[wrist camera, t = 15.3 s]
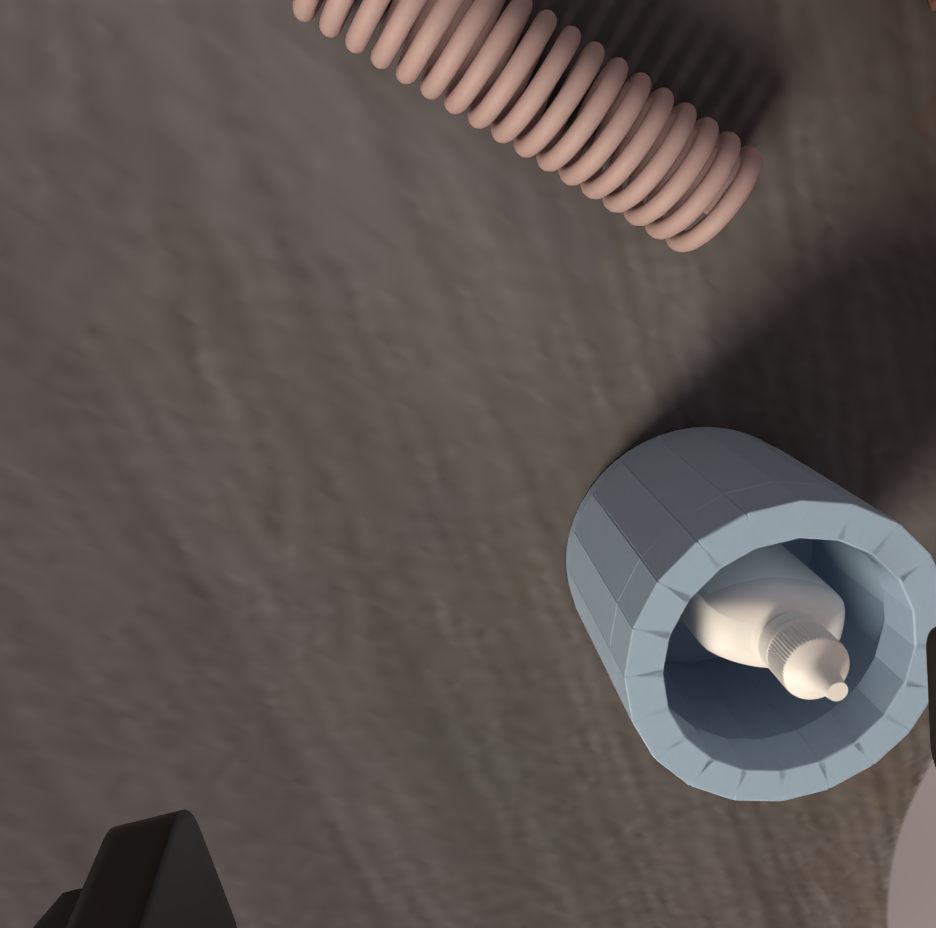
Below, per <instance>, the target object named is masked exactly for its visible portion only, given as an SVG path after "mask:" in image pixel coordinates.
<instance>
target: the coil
mask: <svg viewBox="0 0 936 928" xmlns="http://www.w3.org/2000/svg"><path fill="white" fill-rule="evenodd" d="M505 1H506V0H393V1H392V3H391V6H390V8H389V11H388V13H387V16H386V18H385V21H384V23H383V26H382V28H381V30H380V33H379V35H378V38H377V40H376V42H375V45H374V47H373V49H372V52H371V61H372V63H373V65H374V66H376V67H377V68H379V69H385V68H387V67H388V66H390V64H391V62H392V61H393V59H394V57H395V56H396V54H397V52H398V51H399V49H400V47H401V45H402V44H403V42H404V40H405V38H406V37H407V35H408V33H409V31H410V30H411V31H410V33H409V36H408V38H407V41H406V43H405V46H404V48H403V51H402V53H401V56H400V58H399V61H398V63H397V66H396V76H397V78H398V80H399V81H400V82H401V83H403V84H410V83H412V82H414V81H415V80H416V79H417V77H418V76H419V74H420V73H421V71H422V70H423V68H424V66H425V65H426V63H427V65H426V68H425V70H424V73H423V76H422V79H421V83H420V90H421V92H422V95H423V96H424V97H426V98H427V99H435V98H437V97H439V96H440V95H441V94H442V93H443V91H444V90H445V89H446V87H447V89H446V93H445V99H444V105H445V107H446V109H447V111H449V112H450V113H451V114H459V113H461V112H463V111H464V110H466V109H467V108H468V106H469V110H468V120H469V122H470V124H471V125H472V126H473V127H474V128H478V129H483V128H485V127H487V126H488V125H490V124H491V123H492V126H491V133H492V136H493V138H494V139H495V140H496V141H497V142H499V143H507V142H509V141H511V140H513V139H514V147H515V150H516V152H517V153H518V154H519V155H520V156H521V157H531V156H534V155H535V154H536V159H537V162H538V165H539V167H540V168H542V169H543V170H544V171H551V172H552V171H555V170H557V169H558V170H559V175H560V178H561V180H562V181H563V182H564V183H566V184H567V185H578V184H580V186H581V189H582V191H583V194H585V195H586V196H587V197H588V198H591V199H600V198H602V200H603V203H604V206H605V207H606V208H607V209H608V210H610V211H611V212H617V213H620V212H624V216H625V218H626V220H627V221H628V222H629V223H631V224H632V225H636V226H644V225H645V229H646V231H647V233H648V234H649V235H651V236H652V237H653V238H656V239H666V243H667V244H668V246H669V247H670V248H672V249H673V250H674V251H678V252H689V251H692V250H694V249H696V248H698V247H700V246H702V245H703V244H705V243H706V242H708V241H709V240H711V239H712V238H713V237H714V236H715V235H717V234H718V233H719V232H720V231H721V230H722V229H723V228H724V227H725V226H726V225H727V224H728V223H729V221H730V220H731V219H732V218H733V217H734V216H735V214H736V213H737V212H738V210H739V209H740V208H741V206H742V205H743V204H744V202H745V201H746V199H747V197H748V196H749V194H750V193H751V191H752V189H753V187H754V185H755V183H756V181H757V179H758V176H759V173H760V170H761V167H762V160H763V159H762V156H761V152H760V151H759V150H758V149H757V148H756V147H755V146H744V147H742V148H741V143H740V139H739V137H738V136H737V135H736V134H735V133H734V132H728V131H726V132H723V133H721V134H719V127H718V124H717V122H716V121H715V120H714V119H713V118H710V117H703V118H701V119H699V120H697V121H696V117H697V113H696V109H695V107H694V106H693V105H692V104H690V103H686V102H683V103H680V104H678V105H676V106H675V107H674V108H673V104H674V96H673V93H672V92H671V91H670V90H669V89H668V88H663V87H662V88H659V89H657V90H655V91H653V92H652V93H651V94H650V95H649V93H650V89H651V80H650V77H649V76H648V75H647V74H646V73H641V72H639V73H636V74H634V75H632V76H631V77H630V78H629V79H628V81H627V82H626V83H625V85H624V86H623V84H624V82H625V80H626V77H627V73H628V65H627V62H626V61H625V60H624V59H623V58H620V57H615V58H613V59H611V60H609V62H608V63H607V64H606V65H605V67H604V68H603V69H602V71H601V72H600V74H599V75H598V77H597V78H596V80H595V82H594V83H593V85H592V87H591V88H590V90H589V92H588V94H587V96H586V97H585V99H584V101H583V103H582V105H581V107H580V109H579V111H578V113H577V115H576V117H575V119H574V121H573V123H572V125H571V126H570V127H569V129H568V130H567V131H566V132H565V134H564V135H563V136H562V133H563V130H564V128H565V126H566V123H567V121H568V119H569V117H570V115H571V114H572V113H573V111H574V110H575V108H576V107H577V105H578V104H579V102H580V101H581V99H582V98H583V96H584V94H585V93H586V91H587V90H588V88H589V86H590V85H591V83H592V81H593V79H594V78H595V76H596V74H597V72H598V71H599V69H600V67H601V65H602V62H603V60H604V55H605V51H604V47H603V46H602V45H601V44H600V43H599V42H594V41H593V42H591V43H588V44H587V45H586V46H585V48H584V49H583V50H582V52H581V53H580V55H579V56H578V58H577V60H576V61H575V63H574V65H573V67H572V68H571V70H570V72H569V74H568V76H567V78H566V80H565V81H564V83H563V85H562V87H561V89H560V91H559V93H558V94H557V96H556V97H555V99H554V100H553V102H552V103H551V105H550V106H549V108H548V109H547V110H546V112H545V113H544V114H543V112H544V110H545V108H546V105H547V103H548V101H549V99H550V97H551V94H552V92H553V90H554V88H555V86H556V84H557V82H558V81H559V79H560V77H561V76H562V74H563V73H564V71H565V69H566V68H567V66H568V64H569V63H570V61H571V59H572V57H573V56H574V54H575V52H576V50H577V48H578V46H579V44H580V40H581V34H580V31H579V29H577V28H576V27H575V26H570V25H569V26H567V27H565V28H564V29H563V30H562V31H561V33H560V34H559V36H558V38H557V39H556V41H555V43H554V45H553V47H552V48H551V50H550V52H549V53H548V55H547V57H546V58H545V60H544V62H543V63H542V65H541V66H540V68H539V70H538V71H537V73H536V74H535V76H534V77H533V79H532V80H531V82H530V84H529V85H528V87H527V88H526V86H527V84H528V82H529V80H530V78H531V76H532V73H533V71H534V69H535V67H536V65H537V63H538V61H539V59H540V57H541V55H542V53H543V51H544V49H545V47H546V45H547V43H548V41H549V39H550V37H551V35H552V33H553V32H554V30H555V28H556V25H557V18H556V15H555V13H553V12H552V11H551V10H546V9H545V10H543V11H541V12H539V14H538V15H537V16H536V18H535V19H534V21H533V22H532V24H531V26H530V27H529V29H528V30H527V32H526V34H525V35H524V37H523V39H522V40H521V42H520V43H519V45H518V47H517V48H516V50H515V51H514V49H515V47H516V45H517V42H518V40H519V38H520V36H521V34H522V32H523V30H524V27H525V25H526V23H527V21H528V19H529V17H530V14H531V12H532V7H533V3H532V0H511V1H510V3H509V4H508V6H507V7H506V9H505V10H504V12H503V13H502V15H501V16H500V13H501V11H502V8H503V6H504V3H505ZM322 2H323V0H294V1H293V12H294V14H295V16H296V18H298V19H299V20H300V21H304V22H308V21H310V20H311V19H313V18H314V17H315V15H316V13H317V12H318V10H319V8H320V6H321V4H322ZM354 2H355V0H327V1H326V4H325V6H324V9H323V11H322V14H321V17H320V24H319V27H320V30H321V32H322V34H324V35H325V36H326V37H330V38H334V37H335V36H337V35H339V33H340V31H341V30H342V28H343V26H344V24H345V22H346V20H347V18H348V16H349V13H350V11H351V9H352V6H353V4H354ZM389 2H390V0H362V2H361V5H360V7H359V9H358V11H357V13H356V15H355V17H354V19H353V21H352V23H351V25H350V27H349V30H348V32H347V34H346V37H345V44H346V46H347V48H348V50H350V51H351V52H352V53H361V52H362V51H364V49H365V48H366V46H367V44H368V42H369V40H370V38H371V36H372V34H373V32H374V30H375V28H376V26H377V24H378V23H379V21H380V19H381V17H382V15H383V13H384V11H385V10H386V8H387V6H388V4H389ZM499 16H500V18H499ZM498 18H499V20H498ZM497 20H498V21H497ZM496 22H497V23H496ZM411 28H412V29H411ZM513 51H514V53H513ZM512 53H513V55H512ZM511 55H512V56H511ZM622 86H623V87H622ZM621 88H622V89H621ZM542 115H543V116H542ZM601 121H602V122H601ZM600 122H601V124H600ZM599 124H600V126H599V128H598V130H597V132H596V134H595V136H594V138H593V140H592V143H591V145H590V147H589V148H588V149H587V151H586V152H585V153H584V154H583V155H582V156H581V154H582V151H583V148H584V145H585V143H586V142H587V140H588V139H589V138H590V136H591V135H592V134H593V132H594V131H595V130H596V128H597V127H598V125H599ZM718 134H719V135H718ZM561 136H562V137H561ZM614 151H615V152H614ZM613 152H614V154H613ZM612 154H613V156H612V159H611V161H610V164H609V166H608V168H607V169H606V170H605V171H603V172H602V173H601V171H602V168H603V165H604V163H605V162H606V161H607V160H608V159H609V157H610V156H611V155H612ZM630 175H631V176H630ZM629 176H630V179H629V182H628V184H627V186H625V187H624V188H623V189H622V186H623V182H624V181H625V180H626V179H627V178H628V177H629ZM731 182H732V183H731ZM729 185H730V186H729ZM728 186H729V187H728ZM727 188H728V189H727ZM726 189H727V191H726V192H725V190H726ZM724 192H725V193H724ZM723 193H724V195H723ZM648 194H649V196H648V199H647V202H645V203H644V204H643V199H644V198H645V197H646V196H647V195H648ZM722 195H723V196H722ZM721 196H722V198H721ZM720 198H721V199H720ZM667 211H668V212H667ZM666 212H667V215H666V217H665V218H664V214H665V213H666ZM702 213H706V214H707V215H706V216H705V217H704V218H703V219H702V220H701V221H700V222H699V223H697V224H696V225H695V226H694V227H692V228H691V229H689V230H687V231H684V229H686V228H687V227H688V226H689V225H690V224H692V223H693V222H694V221H695V220H696V219H697V218H698V217H699V216H700V215H701V214H702Z"/></svg>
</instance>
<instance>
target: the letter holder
mask: <svg viewBox="0 0 936 928" xmlns="http://www.w3.org/2000/svg"><path fill="white" fill-rule="evenodd" d="M927 1H928V5H929V7H930V9H931V10H932V12H936V0H927Z"/></svg>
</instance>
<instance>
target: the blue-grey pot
mask: <svg viewBox="0 0 936 928" xmlns="http://www.w3.org/2000/svg"><path fill="white" fill-rule="evenodd" d="M777 543H780V544H781V545H782V546H784V547H785V548H786V549H787V550H788V551H789V552H791V553H792V554H793V555H794V556H795V557H797V558H798V559H799V560H800V561H801V562H802V563H804V564H805V565H806V566H807V567H808V568H809V569H811V570H812V571H813V572H814V573H815V574H816V575H817V576H819V577H820V578H821V579H822V580H823V581H824V582H825V583H826V584H828V585H829V586H830V587H831V588H832V589H833V590H834V591H835V592H836V593H837V594H838V595H839V596H840V598H841V599H842V600H843V602H844V607H845V619H844V626H843V631H842V635H841V638H840V640H839V641H840V642H841V643H842V644H843V645H844V647H845V648H846V650H847V653H848V654H849V655H848V656H849V660H850V662H849V663H850V665H849V666H850V667H849V671H848V674H847V677H846V678H845V680H844V682H845V683H846V685H847V687H848V693H847V695H846V697H845V698H844V699H842V700H840V701H832V700H830V699H829V698H827V697H826V696H825V697H822V698H819V699H813V700H812V699H810V700H808V699H801V698H798V697H795V696H794V695H792V694H791V693H790V692H789V691H787V689H786V688H785V687H784V686H783V685H782V683H781V682H780V681H779V680H778V679H777V677H776V676H775V675H774V674H773V673H772V672H771V670H770V669H769V668H763V667H755V666H749V665H745V664H741V663H737V662H733V661H731V660H728V659H725V658H723V657H720V656H718V655H716V654H714V653H712V652H710V651H708V650H707V649H706V648H705V647H703V646H702V645H701V644H700V643H699V642H698V640H697V639H696V638H695V637H694V635H693V634H692V633H691V632H690V630H689V629H688V628H687V626H686V625H685V624H684V622H683V621H682V620H681V618H680V616H681V615H682V613H683V611H684V609H685V607H686V605H687V604H688V602H689V600H690V599H691V598H692V597H693V596H694V595H695V594H696V593H697V592H698V591H699V590H700V589H701V588H702V587H703V586H704V585H705V584H706V583H707V582H708V581H709V580H710V579H711V578H712V577H713V576H714V575H715V574H716V573H717V572H718V571H719V570H720V569H721V568H723V567H724V566H726V565H728V564H730V563H731V562H733V561H735V560H737V559H738V558H740V557H742V556H744V555H746V554H747V553H749V552H751V551H753V550H754V549H756V548H761V547H765V546H769V545H773V544H777ZM566 567H567V576H568V583H569V586H570V590H571V594H572V597H573V599H574V602H575V606H576V609H577V611H578V613H579V615H580V617H581V619H582V621H583V623H584V625H585V627H586V629H587V631H588V633H589V635H590V637H591V639H592V641H593V643H594V645H595V648H596V650H597V652H598V654H599V656H600V658H601V660H602V662H603V664H604V666H605V668H606V670H607V672H608V674H609V676H610V678H611V680H612V682H613V684H614V686H615V688H616V690H617V692H618V694H619V696H620V698H621V700H622V702H623V704H624V707H625V709H626V711H627V713H628V715H629V717H630V719H631V721H632V723H633V724H634V726H635V728H636V729H637V731H638V733H639V734H640V736H641V738H642V739H643V741H644V742H645V744H646V746H647V747H648V749H649V751H650V752H651V754H652V756H653V757H654V758H655V759H656V760H657V761H658V762H659V763H661V764H662V765H663V766H665V767H666V768H667V769H669V770H670V771H671V772H672V773H674V774H675V775H676V776H678V777H679V778H680V779H682V780H683V781H684V782H685V783H687V784H688V785H691V786H692V787H695V788H698V789H701V790H704V791H707V792H710V793H714V794H717V795H720V796H723V797H726V798H729V799H733V800H744V801H780V800H781V801H784V800H788V799H792V798H796V797H800V796H804V795H808V794H812V793H816V792H820V791H824V790H828V788H832V787H833V786H835V785H837V784H839V783H841V782H843V781H844V780H846V779H848V778H850V777H852V776H854V775H856V774H857V773H859V772H861V771H863V770H865V769H867V768H868V767H870V766H872V764H875V763H876V762H878V761H879V760H880V759H881V758H882V757H883V756H884V755H885V754H886V753H887V752H888V751H890V750H891V749H892V748H893V747H894V746H895V745H896V744H897V743H898V742H899V741H900V740H902V739H903V738H904V737H905V736H906V735H907V734H908V733H909V732H910V730H911V729H912V728H913V726H914V725H915V723H916V722H917V720H918V718H919V717H920V715H921V714H922V712H923V711H924V709H925V708H926V706H927V704H928V703H929V700H928V679H927V659H926V642H927V637H928V634H929V632H930V631H931V629H933V628H934V627H936V564H935V562H934V560H933V557H932V556H931V553H930V552H928V551H927V550H926V549H925V548H924V547H923V546H922V545H921V544H920V543H919V542H918V541H917V540H916V539H915V538H914V537H913V536H912V535H911V534H910V533H909V532H908V531H907V530H906V529H905V528H904V527H903V526H902V525H901V524H900V523H899V522H897V521H896V520H894V519H892V518H891V517H889V516H887V515H886V514H884V513H883V512H881V511H879V510H878V509H876V508H874V507H873V506H871V505H870V504H868V503H866V502H865V501H863V500H861V499H860V498H858V497H857V496H855V495H853V494H852V493H850V492H848V491H847V490H845V489H844V488H842V487H840V486H839V485H837V484H835V483H834V482H832V481H831V480H829V479H827V478H826V477H824V476H822V475H821V474H819V473H817V472H816V471H814V470H813V469H811V468H809V467H808V466H806V465H804V464H803V463H801V462H800V461H798V460H796V459H795V458H793V457H791V456H790V455H788V454H787V453H785V452H783V451H782V450H780V449H778V448H776V447H774V446H771V445H769V444H767V443H765V442H764V441H762V440H760V439H758V438H756V437H754V436H751V435H748V434H746V433H743V432H740V431H735V430H731V429H727V428H717V427H694V428H687V429H681V430H675V431H672V432H669V433H665V434H662V435H659V436H657V437H654V438H652V439H650V440H647V441H645V442H643V443H641V444H640V445H638V446H636V447H634V448H633V449H631V450H629V451H628V452H626V453H625V454H624V455H622V456H621V457H620V458H619V459H617V460H616V461H615V462H613V463H612V464H611V465H610V466H609V467H608V468H607V469H606V470H605V471H604V472H603V473H602V474H601V475H600V476H599V478H598V479H597V480H596V481H595V483H594V484H593V485H592V486H591V488H590V489H589V491H588V492H587V494H586V496H585V497H584V499H583V501H582V502H581V504H580V506H579V508H578V511H577V513H576V515H575V517H574V520H573V523H572V527H571V530H570V533H569V539H568V545H567V557H566Z"/></svg>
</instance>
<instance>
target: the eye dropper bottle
mask: <svg viewBox="0 0 936 928" xmlns="http://www.w3.org/2000/svg"><path fill="white" fill-rule="evenodd" d="M680 618H681V620H682V621H683V622H684V624H685V625H686V626H687V628H688V629H689V630H690V632H691V633H692V634H693V635H694V637H695V638H696V639H697V640H698V642H699V643H700V644H701V645H702V646H703V647H705V648H706V649H707V650H708V651H710V652H712V653H714V654H716V655H718V656H720V657H723V658H725V659H728V660H731V661H733V662H737V663H741V664H745V665H749V666H755V667H763V668H769V669H770V670H771V672H772V673H773V674H774V675H775V676H776V677H777V679H778V680H779V681H780V682H781V683H782V685H783V686H784V687H785V688H786V689H787V691H789V692H790V693H791V694H792V695H794V696H795V697H798V698H801V699H808V700H810V699H812V700H813V699H819V698H822V697H825V696H826V697H827V698H829V699H830V700H832V701H840V700H842V699H844V698H845V697H846V695H847V693H848V687H847V685H846V683H845V682H844V680H845V678H846V677H847V674H848V671H849V667H850V666H849V665H850V663H849V662H850V660H849V656H848V655H849V654H848V653H847V650H846V648H845V647H844V645H843V644H842V643H841V642H840V641H839V640H840V638H841V635H842V631H843V626H844V619H845V607H844V602H843V600H842V599H841V598H840V596H839V595H838V594H837V593H836V592H835V591H834V590H833V589H832V588H831V587H830V586H829V585H828V584H826V583H825V582H824V581H823V580H822V579H821V578H820V577H819V576H817V575H816V574H815V573H814V572H813V571H812V570H811V569H809V568H808V567H807V566H806V565H805V564H804V563H802V562H801V561H800V560H799V559H798V558H797V557H795V556H794V555H793V554H792V553H791V552H789V551H788V550H787V549H786V548H785V547H784V546H782V545H781V544H780V543H777V544H773V545H769V546H765V547H761V548H756V549H754V550H753V551H751V552H749V553H747V554H746V555H744V556H742V557H740V558H738V559H737V560H735V561H733V562H731V563H730V564H728V565H726V566H724V567H723V568H721V569H720V570H719V571H718V572H717V573H716V574H715V575H714V576H713V577H712V578H711V579H710V580H709V581H708V582H707V583H706V584H705V585H704V586H703V587H702V588H701V589H700V590H699V591H698V592H697V593H696V594H695V595H694V596H693V597H692V598H691V599H690V600H689V602H688V604H687V605H686V607H685V609H684V611H683V613H682V615H681V616H680Z"/></svg>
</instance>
